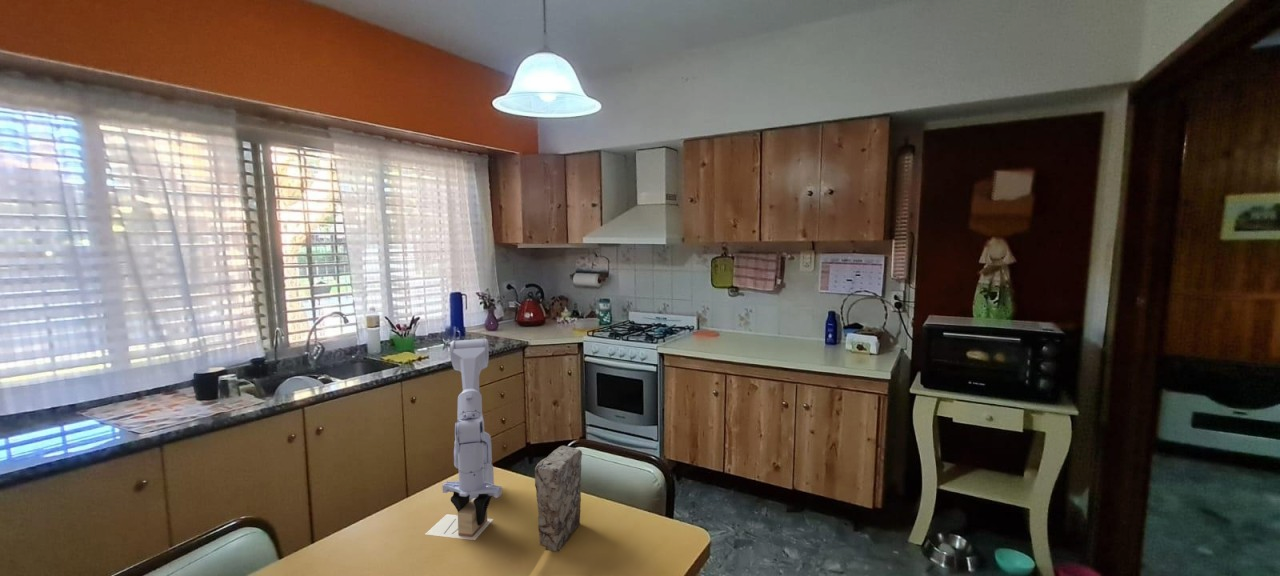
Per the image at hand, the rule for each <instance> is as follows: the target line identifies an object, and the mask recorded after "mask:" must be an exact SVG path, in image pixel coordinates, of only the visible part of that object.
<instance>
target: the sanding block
mask: <svg viewBox="0 0 1280 576" xmlns="http://www.w3.org/2000/svg"><path fill="white" fill-rule="evenodd" d="M475 499H476V498H473V499H472V500H469V503H468V504H467V505H465V506H464V507H463V508H462V509H461V510H460V511H459V512H458V511H457V515H458V535H460V536H469V537H473V536H474V535H475V534H476V532H477V531H478V530H479V529H480V528H481V527H482V526H483V525H484V524H485V523H486V522H487V518H488V510H487V511H486V515H485V520H484V522H483V523H482V524H481V525H480V526H479V525H478V524H477V513H476V508H475V505H474V500H475Z"/></svg>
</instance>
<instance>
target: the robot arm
mask: <svg viewBox="0 0 1280 576" xmlns="http://www.w3.org/2000/svg"><path fill="white" fill-rule="evenodd" d="M449 346H450V349H449V350H450V351H449V352H450V361H451V364H452V368H453V370H455V371H457V372H460V374H461V385H462V386H461V387H462V391H461V392H460V393H459V394H458V396H457V414H456V415H457V418H456V419H457V421H456V422H455V425H454V439H455V440H454V443H453V444H454V445H453V446H454V448H453V466H454V467H455V468H456V469H458V480H456V481H455V480H454V481H448V480H447V481H446V482H444V483H443V484H442V486H441V487H442V493H443V494H447V493H448V492H449V493H453V494H452V496H451V497H450V502H451V503H452V505H453V506H454V508H455V509H456V511H457V513H458V512H459V511H460V510H461V509H462V508H463V507H464V506H465V505H467V504H468V503H469V502H470V501H471V500H472V499H473V498H476V499H475V500H474V505H475V508H476V513H477V524H478V525H479V526H480V525H481V524H482V523H483V522H484V520H485V515H486V511H487V512H488V508H489V507H488V506H489V505H490V501H491V499H492V497H493V498H495V499H498V498H499V497H500V496H501V495H503V493H502V492H503V491H502V489H503V488H502V486H501V485H496V484H495V483H494V482H495V480H494V479H495V478H494V473H495V472H494V465H493V464H492V461H493V455H492V454H493V453H492V452H493V451H492V436H491V434H489V432H486V430H485V419H484V416H483V414H484V413H483V400H482V399H483V398H482V397H483V396H482V393H480V374H481V372H482V371H483V370H484V369H486V368H488V365H489V359H490V357H489V355H490V353H489V340H488V338H479V339H478V338H477V339H462V340H460V339H459V340H455V339H453V340H452V341H451V342H450V345H449Z"/></svg>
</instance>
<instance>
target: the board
mask: <svg viewBox="0 0 1280 576" xmlns="http://www.w3.org/2000/svg"><path fill="white" fill-rule="evenodd" d="M493 521H494V518H488V517H487V522H486V523H485V524H484V525H483V526H482V527H481V528H480V529H479V530H478V531H477V532H476V534H475V535H474V536H473V537H469V536H460V535H458V514H448V513H447V514H445V515H444V516H443V517H442V518H440V520H438V521H437V522H436V524H434V525H433V526H432V527H431V528H429V530H428V531H427V532H426V533H424V535H426V536H432V537H433V536H435V537H443V538H450V539H451V538H452V539H461V540H469V541H470V540H471V541H476V540H477V539H478V538H479V536H480V535H481V534H482V533H483V532H484V531H485V530H486V528H487V527H488V526H489V525H490V524H491V523H492V522H493Z"/></svg>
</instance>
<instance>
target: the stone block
mask: <svg viewBox="0 0 1280 576" xmlns="http://www.w3.org/2000/svg"><path fill="white" fill-rule="evenodd" d="M582 457H583V452H582V450H581V449H579V448H576V447H571V446H567V445H560V446H559V447H557V448H556V449H554V450H553V451H552V452H551V453H549V454H548V456H547V457H545V458H543V459H541V460H540V461H539V462H537V465H536V466H535V468H534V476H535V477H534V487H535V491H536V492H535V493H536V501H537V502H536V503H537V508H538V509H537V510H538V512H537V513H538V518H537V522H538V533H539V545H541V546H545V547H546V548H545V550H546V551H550V552H554V553H557V552H560V551H561V550H562V549H563V547H564V546H565V545H566V544H567V543H568V541H569V540H570V538H571V537H572V535H573V534H574V533H575V531H576V530H577V529H578V527H579V526H581V522H580V521H581V520H580V519H581V505H582V503H581V501H582V498H581V497H582V495H581V494H582V492H581V490H582V484H581V482H582V459H583V458H582Z"/></svg>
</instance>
